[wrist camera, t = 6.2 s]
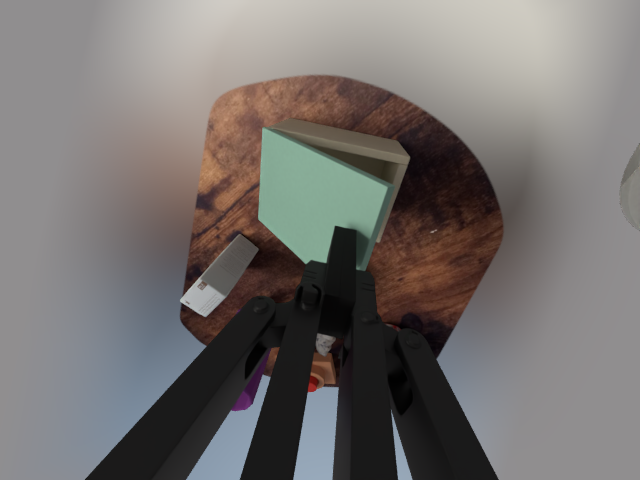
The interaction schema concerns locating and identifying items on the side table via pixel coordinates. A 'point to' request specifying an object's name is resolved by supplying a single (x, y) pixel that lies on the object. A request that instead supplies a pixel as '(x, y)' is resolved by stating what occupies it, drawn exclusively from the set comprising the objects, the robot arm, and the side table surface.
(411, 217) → the side table surface
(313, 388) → the button
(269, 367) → the side table surface
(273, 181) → the lid
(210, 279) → the cosmetic box
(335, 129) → the lidded tan box
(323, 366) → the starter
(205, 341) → the side table surface
